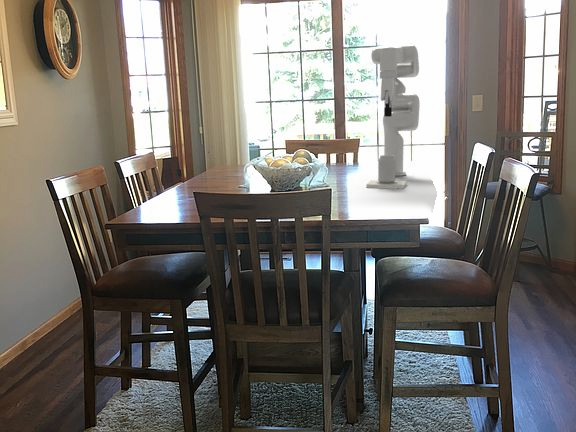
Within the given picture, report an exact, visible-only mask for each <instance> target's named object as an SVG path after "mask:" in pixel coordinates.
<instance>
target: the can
mask: <svg viewBox="0 0 576 432" xmlns="http://www.w3.org/2000/svg"><path fill="white" fill-rule="evenodd" d="M395 161H396V159H395V158H394V156H393V155H384V154H383V155H380V156H379V158H378V161H377V162H378V164H377V165H378V168H377V169H378V171H377V174H378V175H377V177H378V178H377V181H379V182H380V183H393V182H394V181H396V176H395Z"/></svg>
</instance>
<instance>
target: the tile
mask: <svg viewBox="0 0 576 432" xmlns="http://www.w3.org/2000/svg"><path fill="white" fill-rule="evenodd" d="M406 186H407V181H406V180H395V181H394V182H393V183H380V182H379V181H378V180H370V181H369V182H368V183H366V185H365V187H366V188H367V189H369V188H370V189H397V188H403V189H404V188H405V187H406Z"/></svg>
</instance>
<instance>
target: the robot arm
mask: <svg viewBox="0 0 576 432" xmlns="http://www.w3.org/2000/svg"><path fill="white" fill-rule="evenodd" d="M371 61H372V63H373V64H375V65H379V79H381V83H380V84H381V85H380V101H381V102H382V101H384V109H383V117H382V125H383V133H384V135H383V136H384V138H383V139H384V141H383V142H384V147H383V149H384V150H383V151H384V152H383V153H384V154H383V155H393V156H394V158H395V159H396V161H395V177H400V176H406V175H407V172H406V171H404V143H405V142H404V141H405V140H404V138H403V136H402V134H400V133H399V132H413V131H416V130H417V129H418V127H419V122H420V121H419V120H420V107H421V106H420V105H421V104H420V98H419V95H417V94H416V93H406V86H405V84H404V83H403V82H402V81H401V80H400V78H416V77H417V76H418V75H419V72H420V65H419V64H420V63H419V62H420V61H419V52H418V49H417V47H416V45H414V44H392V45H386V46H376V47H374V48H373V49H372V51H371Z"/></svg>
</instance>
